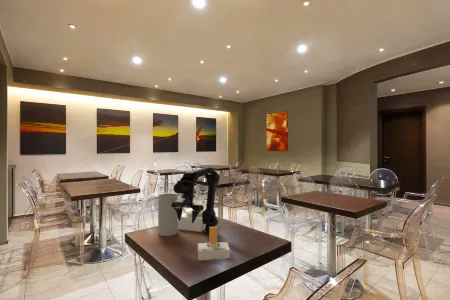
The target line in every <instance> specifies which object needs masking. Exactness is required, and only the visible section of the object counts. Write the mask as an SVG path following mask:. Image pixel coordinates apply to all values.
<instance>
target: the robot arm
mask: <svg viewBox="0 0 450 300" xmlns="http://www.w3.org/2000/svg"><path fill="white" fill-rule="evenodd" d="M203 176H204V178H206V181H205V182H206V184H207V186H208V188H207V193H206V194H207V195H206V204H205V205H206V207H205V206H204V205H203V204H197V203H196V204H195V203H194V198H196V196H195V195H194V194H195V186H196V187H197V183H196V182H197V181H198V180H199V178H201V177H203ZM220 179H221V178H220V174H219V173H218V172H217V171H216V170H214V169H213V168H212V167H211V166H204V167H203V168H199V169H197V170H196V169H195V170H187V171H186V170H185V172H184V173H183V175H182V176H181V178H180V180H176V181H177V182H176V183H175V184H174V186H173V193H174V194H180V195H181V197H180V198H178V200H177V201H175V202H173V203H172V206H171V207H174V208H173V209H175V210H176V212H177V216H178V220H179V221H180V220H181V216H182V214H183V210H184V208H186V209H189V208H192V209H193V211H192V223H194V221H195V219H196V217H197V216H198V214H199V213H200V212H201V210H204V209H205V211H203V212H202V221H203V224H206V227H205V229H204V232H203V234H204V235H207V236H209V227H216V226H218V224H219V220H218V218H217V217H216V215H217V214H216V212H215V209H214V207H215V199H216V197H215V196H216V187H217V186H218V185H219V183H220Z"/></svg>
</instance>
